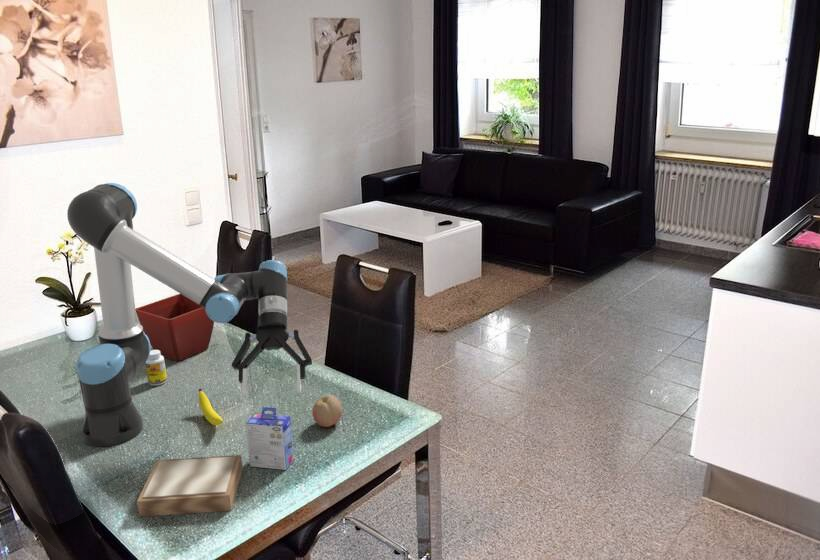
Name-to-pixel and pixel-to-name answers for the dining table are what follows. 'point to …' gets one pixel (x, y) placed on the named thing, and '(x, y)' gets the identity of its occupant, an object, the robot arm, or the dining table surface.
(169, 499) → the wooden box
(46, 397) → the dining table surface
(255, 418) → the ink cartridge box
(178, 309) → the plant pot
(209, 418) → the banana
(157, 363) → the supplement bottle
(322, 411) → the fruit
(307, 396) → the dining table surface
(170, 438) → the dining table surface
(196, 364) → the dining table surface
